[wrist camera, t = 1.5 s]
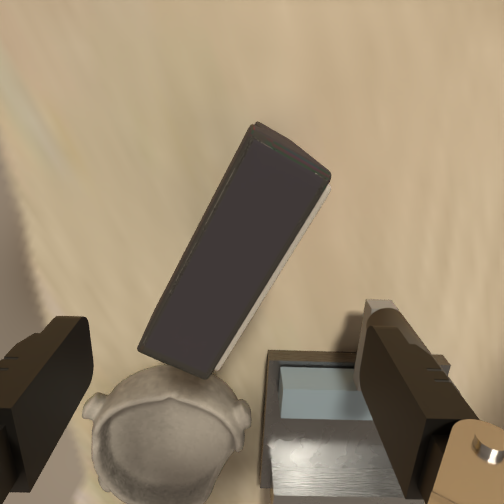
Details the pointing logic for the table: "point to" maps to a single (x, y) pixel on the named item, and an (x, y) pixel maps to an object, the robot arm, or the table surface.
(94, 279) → the table surface
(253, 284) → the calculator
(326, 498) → the vise
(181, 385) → the dish
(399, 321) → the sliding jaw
